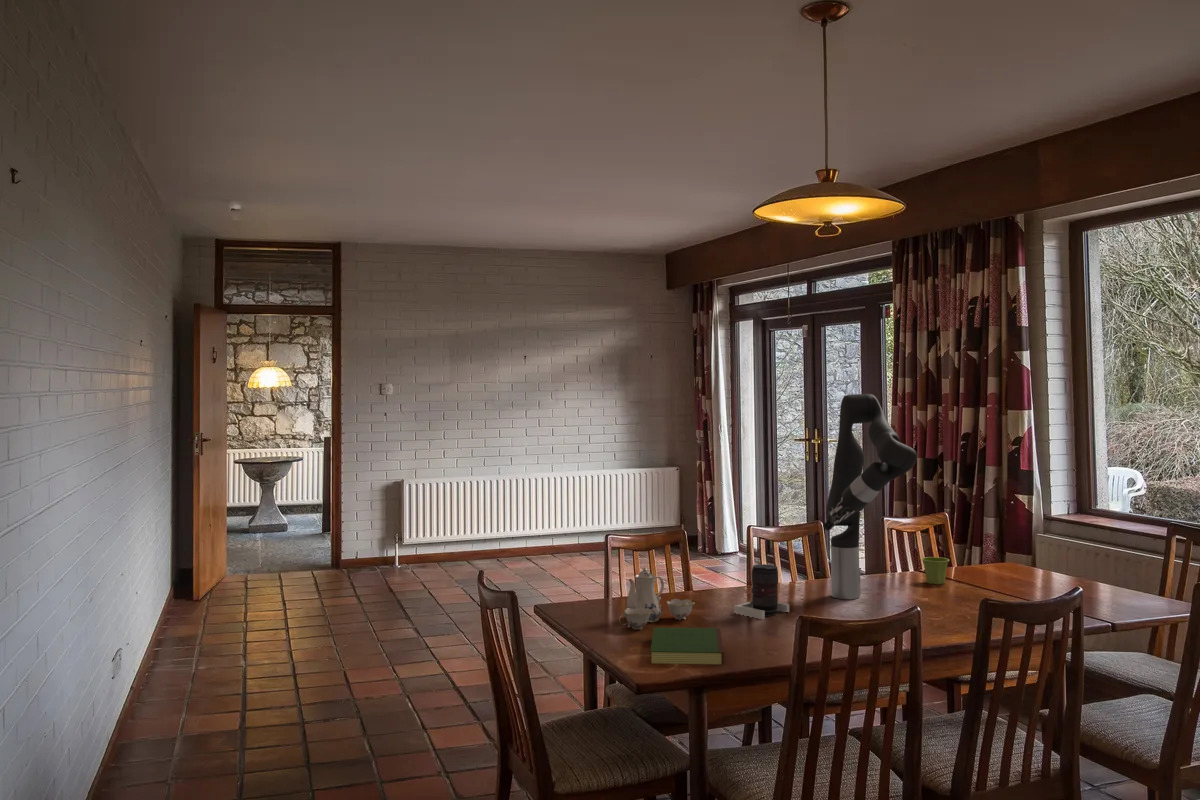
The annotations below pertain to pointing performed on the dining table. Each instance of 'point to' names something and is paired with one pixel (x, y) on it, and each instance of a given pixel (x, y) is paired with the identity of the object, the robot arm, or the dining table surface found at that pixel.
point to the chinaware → (650, 602)
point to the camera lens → (765, 588)
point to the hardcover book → (687, 646)
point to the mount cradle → (757, 610)
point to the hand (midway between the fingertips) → (826, 528)
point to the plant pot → (935, 569)
